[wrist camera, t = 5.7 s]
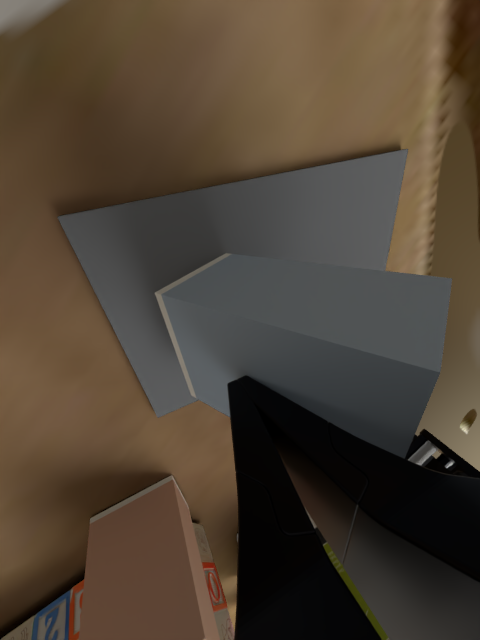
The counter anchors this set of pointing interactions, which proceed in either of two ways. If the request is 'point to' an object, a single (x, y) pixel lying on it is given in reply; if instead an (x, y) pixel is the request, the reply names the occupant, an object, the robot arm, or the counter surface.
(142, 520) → the dusty pink block
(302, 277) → the slate blue block
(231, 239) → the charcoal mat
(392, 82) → the counter surface
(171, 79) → the counter surface
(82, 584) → the stack of blocks
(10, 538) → the counter surface
